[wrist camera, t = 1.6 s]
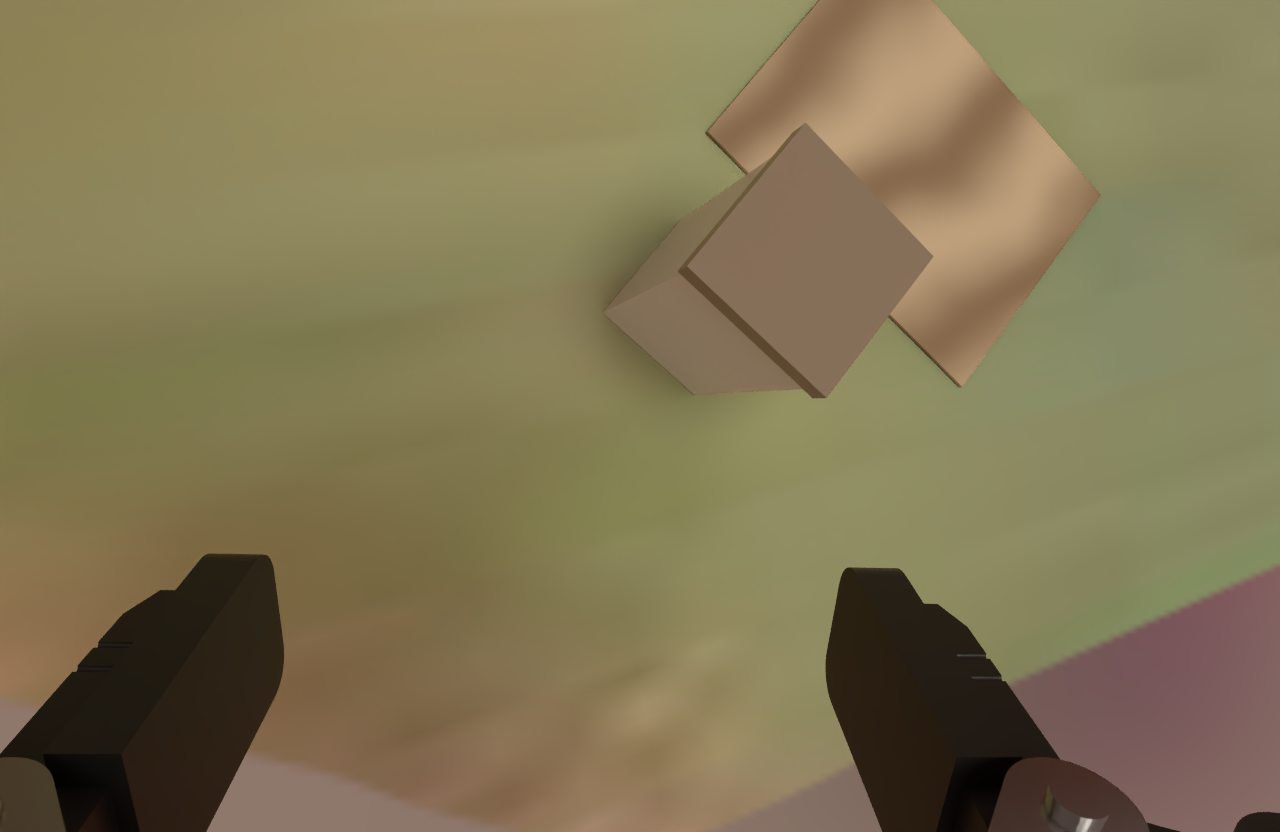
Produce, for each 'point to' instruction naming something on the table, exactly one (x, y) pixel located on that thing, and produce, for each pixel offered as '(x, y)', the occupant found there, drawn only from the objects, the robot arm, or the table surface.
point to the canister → (773, 278)
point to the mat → (923, 159)
